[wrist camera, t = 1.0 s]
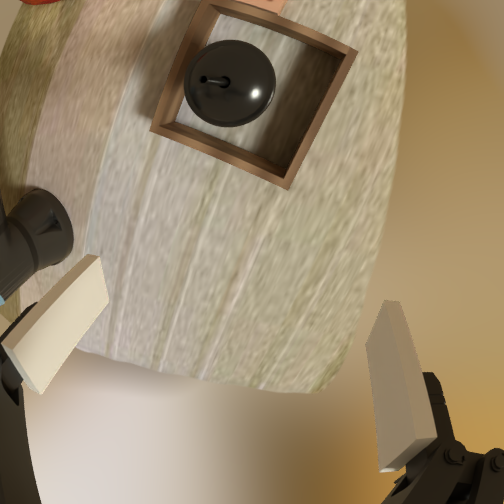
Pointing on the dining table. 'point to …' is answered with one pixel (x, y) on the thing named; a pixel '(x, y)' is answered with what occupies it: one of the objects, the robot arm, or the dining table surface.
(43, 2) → the apple
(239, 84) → the drinking cup
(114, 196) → the dining table surface
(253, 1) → the tray
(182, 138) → the wooden frame
